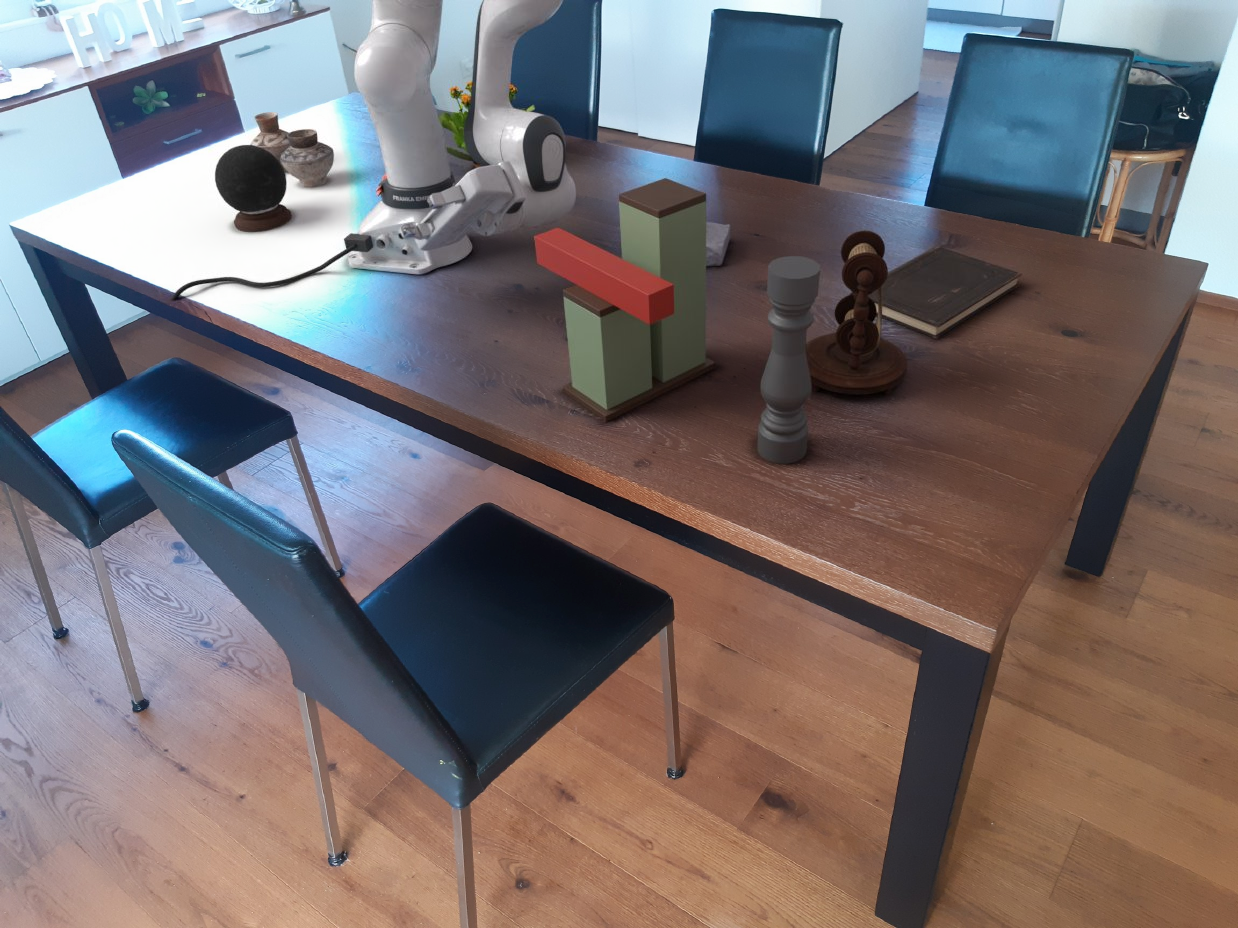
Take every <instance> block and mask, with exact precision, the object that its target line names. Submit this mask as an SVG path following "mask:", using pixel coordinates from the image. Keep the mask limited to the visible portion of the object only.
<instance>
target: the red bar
mask: <svg viewBox="0 0 1238 928" xmlns="http://www.w3.org/2000/svg"><path fill="white" fill-rule="evenodd" d="M533 238H534V245H535V255H536V263H537V265H540V266H541V267H543V268H545V269H547V270H548V271H551V272H552V273H554V274H556V275H557V276H560V277H561V278H563V279H565V280H566V281H569V282H571V283H572V284H573V285H578V286H580V287H582V288H583V289H585V290H587V291H589V292H591V293H593V294H594V295H596V296H598V297H600V298H602V299H603V300H605V301H607V302H609V303H611V304H613V305H614V306H616V307H618V308H620V309H622V310H624V311H625V312H627V313H629V314H631V315H633V316H634V317H636V318H638V319H640V320H642V321H644V322H645V323H647V324H649V325H650V324H653V323H655V322H657V321H659V320H662V319H664V318H666V317H668V316H671V315H673V314H674V284H672V283H670V282H668V281H666V280H664V279H662V278H660V277H658V276H656V275H653V274H651V273H649V272H647V271H645V270H643V269H641V268H639V267H637V266H635V265H633V264H631V263H629V262H627V261H625V260H623V259H622V257H619V256H617V255H615V254H612V252H608V251H607V250H605V249H602V248H600V247H599V246H597V245H594V244H592V243H590V242H588V241H586V240H584V239H582V238H580V237H578V236H576V235H574V234H573V233H570V232H568V231H567V230H565V229H561V228H560V227H555V228H553V229H550V230H547V231H545V232H542V233H539V234H537V235H534V236H533Z"/></svg>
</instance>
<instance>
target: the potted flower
mask: <svg viewBox="0 0 1238 928" xmlns="http://www.w3.org/2000/svg"><path fill="white" fill-rule="evenodd" d="M464 89H465V90H467V91H468V92H470V94H468V93H464V90H463V89H460V90H459V86H456V85H455V86H454V87H450V88H449V90H450V91H449V93H450V94H449V95H450V97H451V98H452V99H455V100H456V102H457V104H458V107H459V110H458V112H452V113H450V112H443V113H442V114H439V113H437V114H438V117H439V120H440V123H441V124H442V126H443V129H446V130H448V131H450V132H452V134H453V136H452V138H453V140H454V141H455V145H456V147H457V148H459V149H461V150H463V151H465V152H466V153H464V152H463V151H459V150H458V149H456V148H453V147H451V146H448V145H446V147H447V153H448V155H451V156H453V157H456V158H458V159H461V160H464V161H468V162H472V163H473V165H474V168H479V167H483V166H481V165H479V164H477V163H476V162H475V161H474V160H473V159H472V158H471V157H470V155H469V153H468V151H467V149H466V146H465V141H464V126H465V121H466V117H467V114H468V110H469V106H470V100H471V92H472V80H469V81H468V82H466V84H465V87H464ZM462 93H463V94H462ZM518 93H519V91H518V88H517V87H516V86H514V84H512V83H511V81H510V88H509V101H510V104H511V105H512V102H515V101H516V98H517V96H516V94H518ZM458 99H459V100H460V102H459V100H458ZM463 107H464V108H465V109H466V110H464V109H463ZM512 107H513V108H515V109H516V107H514V106H512ZM517 109H519V110H523V111H530V112H534V111H535V110H536V107H535V104H532V105H530V106H529V107H528V108H525V107H523V108H517ZM463 110H464V111H463Z"/></svg>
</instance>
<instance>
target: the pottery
mask: <svg viewBox="0 0 1238 928" xmlns="http://www.w3.org/2000/svg"><path fill="white" fill-rule="evenodd" d="M253 118H254V121H255V122H256V124H257V126H258V128H259V133H258V134H257V135H256V136H255V137H254V138H253V139H252V140H251V142H250V145H254V146H258V147H261V148H263V149H265V150H267V151H268V152H270V153H271V154H273V155H274V156H275V157H276V159H277V160H278V161H279V162H280V164H281V165H282V167H283V169H284V172H288V173H289V174H290V175H291V176H292V177H294V178H295V179H297V180H299V184H300V185H301V186H302V187H305V188H311V187H317V186H321V185H323V184H326V183H327V182H328V176H327V175H328V174H329V172H330V171H331V169H332V167H333V164H334V161H335V152H334V149H333V147H331V146H330V145H328V144H326V143H323V142H321V141H318V139H319V137H318V132H317V130H315V129H311V128H303V129H297V130H292V131H290V132H288V131H286V130H284V129H281V128H280V125H279V115H278V113H277V112H273V111H271V112H268V111H267V112H262V113H258V114H257V115H255V116H253Z"/></svg>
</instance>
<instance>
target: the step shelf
mask: <svg viewBox="0 0 1238 928" xmlns="http://www.w3.org/2000/svg"><path fill="white" fill-rule="evenodd" d="M618 207H619V209H618V210H619V225H620V226H619V228H620V245H621V259H623V260H625V261H627V262H629V263H631V264H633V265H635V266H637V267H639V268H641V269H643V270H645V271H647V272H649V273H651V274H653V275H656V276H658V277H660V278H662V279H664V280H666V281H668V282H670V283H672V284H674V314H673V315H671V316H668V317H666V318H664V319H662V320H659V321H657V322H655V323H653V324H650V325H649V324H647V323H645V322H644V321H642V320H640V319H638V318H636V317H634V316H633V315H631V314H629V313H627V312H625V311H624V310H622V309H620V308H618V307H616V306H614V305H613V304H611V303H609V302H607V301H605V300H603V299H602V298H600V297H598V296H596V295H594V294H593V293H591V292H589V291H587V290H585V289H583V288H582V287H580V286H578V285H576V284H573V285H571V286H568V287H566V288H564V289H562V296H563V297H562V298H563V306H564V317H565V326H566V336H567V349H568V357H569V368H570V376H571V378H570V379H571V382H569V383H567V384H565V385H562V393H563V394H565V395H566V396H567V397H570V398H571V399H572V400H573V401H575V402H577V403H578V404H579V405H580V406H582V407H583V408H585V409H586V410H587V411H590V413H592V414H594V415H595V416H596V417H598V418H599V419H601V420H603V421H604V422H605V423H607V422H609V421H611V420H614V419H615V418H618V417H620V416H621V415H623V414H625V413H627V412H629V411H632V410H634V409H636V408H638V407H639V406H641V405H643V404H646V403H648V402H651V401H652V400H653V399H656V398H658V397H660V396H662V395H664V394H666V393H668V392H670V391H672V390H674V389H676V388H678V387H680V386H682V385H684V384H686V383H688V382H691V381H693V380H694V379H696V378H698V377H700V376H702V375H704V374H707V373H709V372H710V371H713V370H714V369H716V362H715V361H714V360H712V359H710V358H708V357H707V356H706V352H707V351H706V350H707V349H706V348H707V347H706V346H707V345H706V344H707V341H706V340H707V339H706V338H707V337H706V335H707V334H706V333H707V330H706V329H707V328H706V327H707V325H706V324H707V310H706V309H707V266H706V222H707V193H705V192H703V191H701V190H698V189H695V188H692V187H691V186H688V185H686V184H683V183H680V182H677V181H674V180H672V179H669V178H667V177H664V178H661V179H659V180H655V181H653V182H650V183H647V184H644V185H641V186H638V187H635V188H633V189H630V190H627V191H624V192H621V193H619V194H618Z"/></svg>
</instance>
